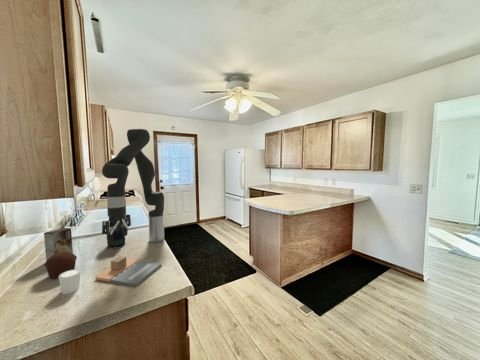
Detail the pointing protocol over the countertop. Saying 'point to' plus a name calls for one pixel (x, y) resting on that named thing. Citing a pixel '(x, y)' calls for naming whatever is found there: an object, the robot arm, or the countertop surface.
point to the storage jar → (117, 238)
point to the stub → (116, 268)
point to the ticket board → (136, 273)
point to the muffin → (60, 264)
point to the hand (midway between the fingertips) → (117, 238)
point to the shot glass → (69, 281)
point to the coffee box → (58, 241)
